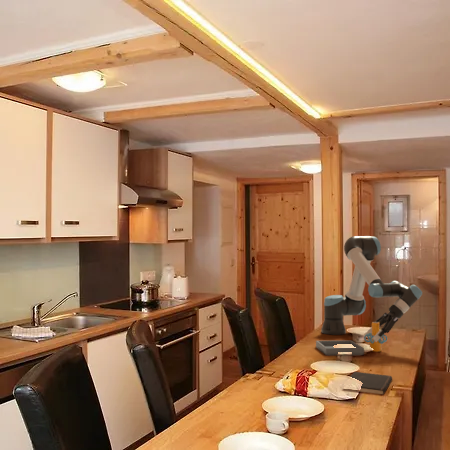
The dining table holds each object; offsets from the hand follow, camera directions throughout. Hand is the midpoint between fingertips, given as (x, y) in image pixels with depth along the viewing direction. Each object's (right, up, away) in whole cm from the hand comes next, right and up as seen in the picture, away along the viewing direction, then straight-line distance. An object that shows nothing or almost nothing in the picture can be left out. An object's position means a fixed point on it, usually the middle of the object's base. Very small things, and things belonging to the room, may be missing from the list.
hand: (370, 338), depth 281 cm
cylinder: (+3, -7, 0) cm, 7 cm away
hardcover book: (-19, -6, -65) cm, 68 cm away
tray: (-17, -6, -2) cm, 18 cm away
